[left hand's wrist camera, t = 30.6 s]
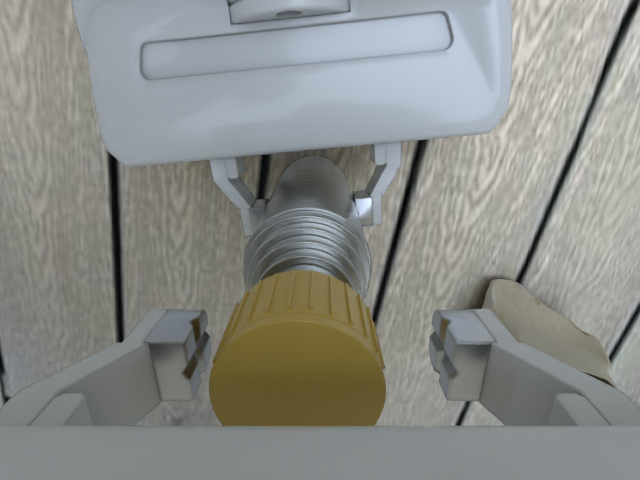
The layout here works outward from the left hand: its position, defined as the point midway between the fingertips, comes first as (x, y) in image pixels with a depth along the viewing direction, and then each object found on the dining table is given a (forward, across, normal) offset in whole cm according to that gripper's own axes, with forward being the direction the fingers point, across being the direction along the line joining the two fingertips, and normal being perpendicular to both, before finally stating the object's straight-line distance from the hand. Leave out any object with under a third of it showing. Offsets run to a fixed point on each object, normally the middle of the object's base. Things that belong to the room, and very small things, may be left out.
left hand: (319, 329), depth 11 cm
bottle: (+17, 0, 0) cm, 17 cm away
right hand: (+11, 0, -1) cm, 11 cm away
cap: (-2, 0, 0) cm, 2 cm away
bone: (+17, +16, -10) cm, 26 cm away
